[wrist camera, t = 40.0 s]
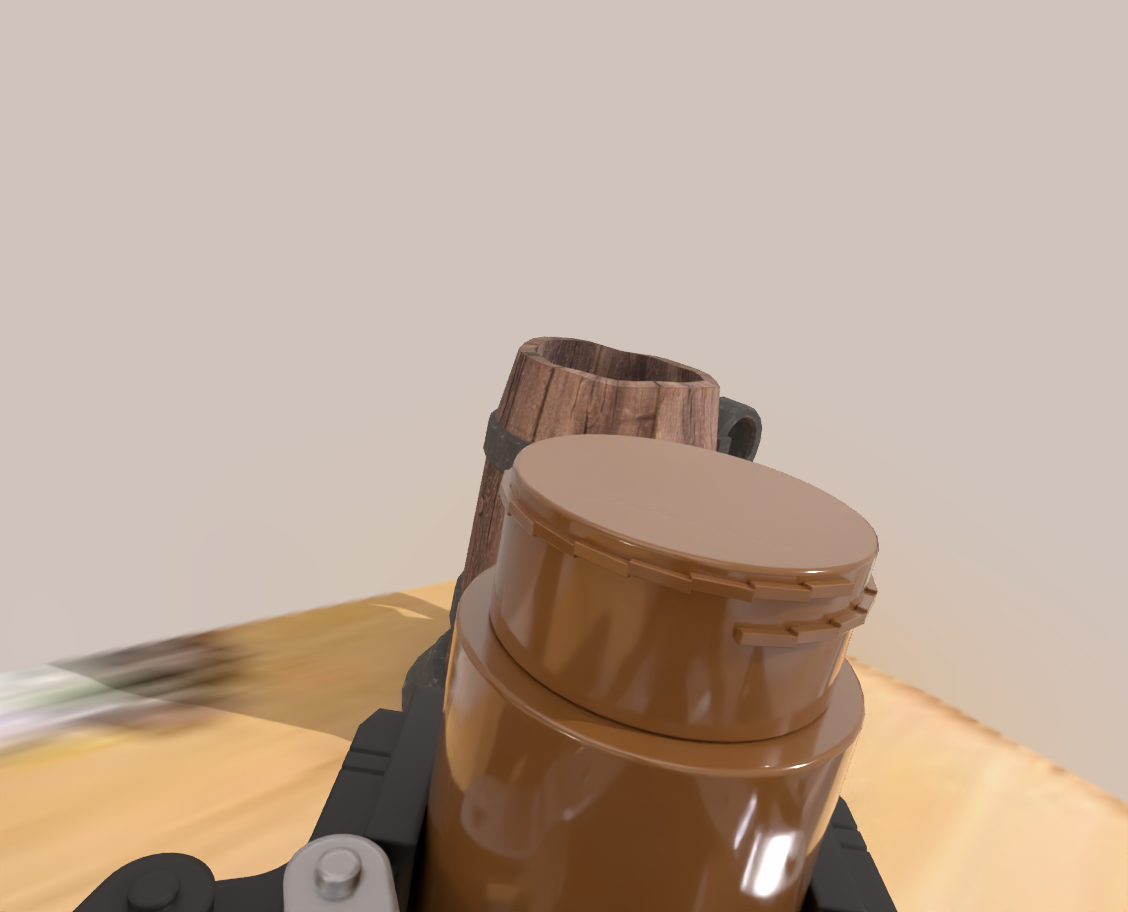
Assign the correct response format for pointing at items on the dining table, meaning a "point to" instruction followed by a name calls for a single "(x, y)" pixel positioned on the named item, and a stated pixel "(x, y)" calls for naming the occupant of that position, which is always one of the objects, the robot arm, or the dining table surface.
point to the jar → (647, 687)
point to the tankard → (585, 406)
